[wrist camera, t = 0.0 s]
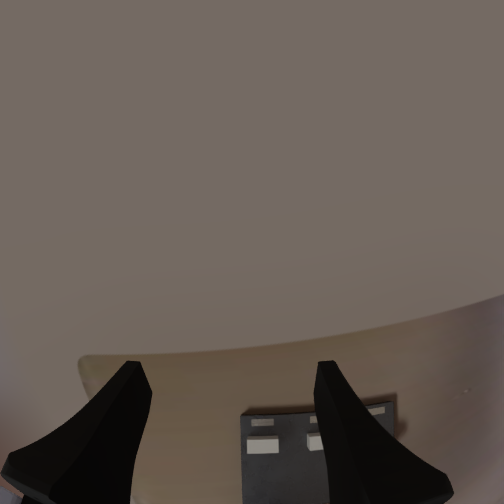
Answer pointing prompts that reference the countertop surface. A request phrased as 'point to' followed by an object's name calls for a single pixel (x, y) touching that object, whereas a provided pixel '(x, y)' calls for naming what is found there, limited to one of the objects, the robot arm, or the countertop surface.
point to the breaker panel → (291, 458)
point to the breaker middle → (314, 441)
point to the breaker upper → (262, 444)
